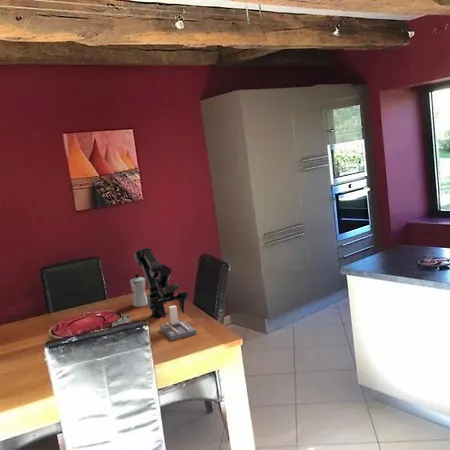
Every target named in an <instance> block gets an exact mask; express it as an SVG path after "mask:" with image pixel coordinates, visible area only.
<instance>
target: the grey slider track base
mask: <svg viewBox="0 0 450 450" xmlns="http://www.w3.org/2000/svg"><path fill="white" fill-rule="evenodd" d="M178 322H179V323H180V325H177V326H173V327H172V326H171V325H170V324H169V323H170V322H166V324H163V325H160V326H159V328H160V329H159V330H160V331H161V332H162V333H163V334H164V335H165V336H166V337H168V338H169V340H171V341H175V340H180V339H183V338H186V337H190V336H194V335H197V329H196V328H195V327H193V326H192V325H190V324H189V323H188V322H187V321H185V320H180V321H179V320H178Z"/></svg>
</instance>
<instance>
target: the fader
mask: <svg viewBox="0 0 450 450" xmlns="http://www.w3.org/2000/svg"><path fill="white" fill-rule="evenodd" d="M168 312H169V321H170V322H168V323H169V324H170V325H171V326H172V327H173V326H177V325H180V323H179V322H178V321H179V316H178V315H179V314H178V307H177V305H175V304H174V305H170V306H168Z"/></svg>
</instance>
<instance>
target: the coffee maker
mask: <svg viewBox="0 0 450 450" xmlns="http://www.w3.org/2000/svg"><path fill="white" fill-rule="evenodd" d="M134 276H135V277H134V278H132V279H130V280H129V283H130V287H131V290H132V292H133V293H132V294H133V295H132V306H133V307H135V308H142V307H144V306H145V307H146V306H148V302H147V300H148V297H147V294H146V277H143V276H142V275H141V276H140V273H139V272H136V273H134Z"/></svg>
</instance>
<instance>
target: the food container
mask: <svg viewBox="0 0 450 450" xmlns="http://www.w3.org/2000/svg"><path fill="white" fill-rule="evenodd" d="M128 322H130V323H132V318H131V317H130V315H128V314H124V313H123V314H121V317H119V318H118V319H116V321H115V322H112V323H111V328H112V327H113V326H116V325H119V324H123V323H128Z"/></svg>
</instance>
